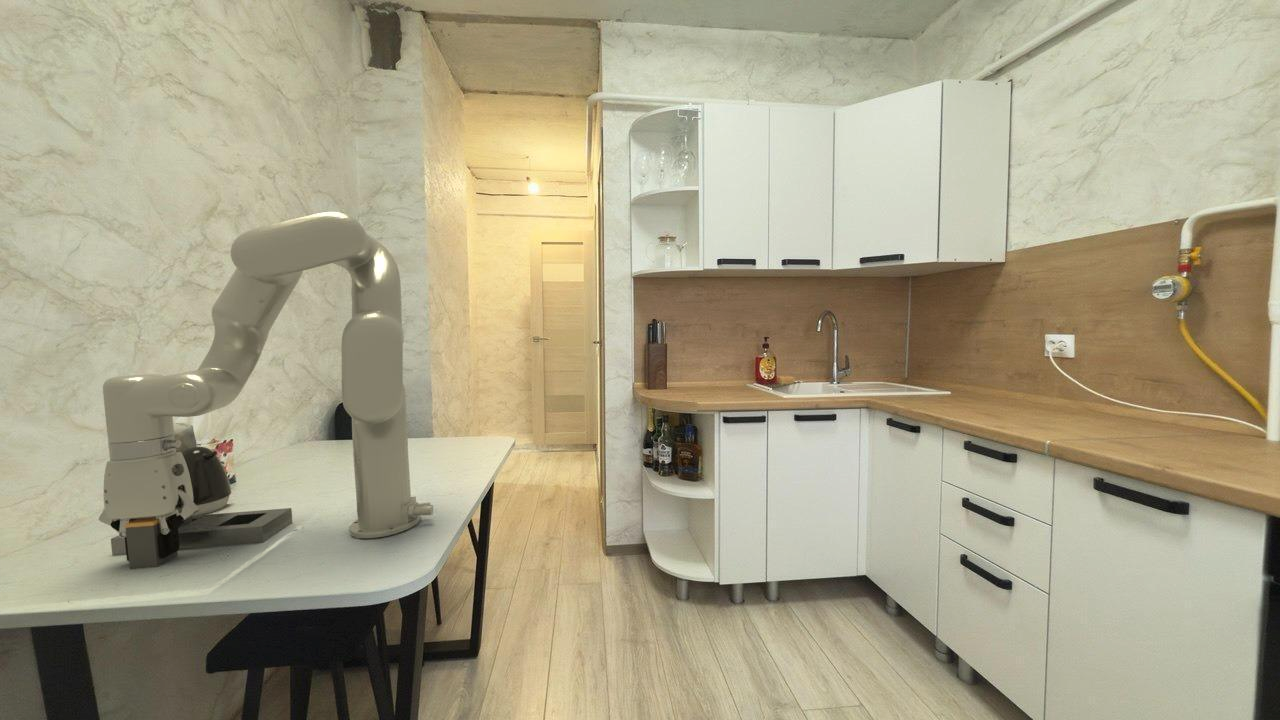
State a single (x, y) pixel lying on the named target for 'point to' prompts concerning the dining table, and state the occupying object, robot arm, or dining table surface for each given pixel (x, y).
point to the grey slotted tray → (225, 529)
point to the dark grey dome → (207, 479)
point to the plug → (144, 543)
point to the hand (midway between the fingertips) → (153, 554)
